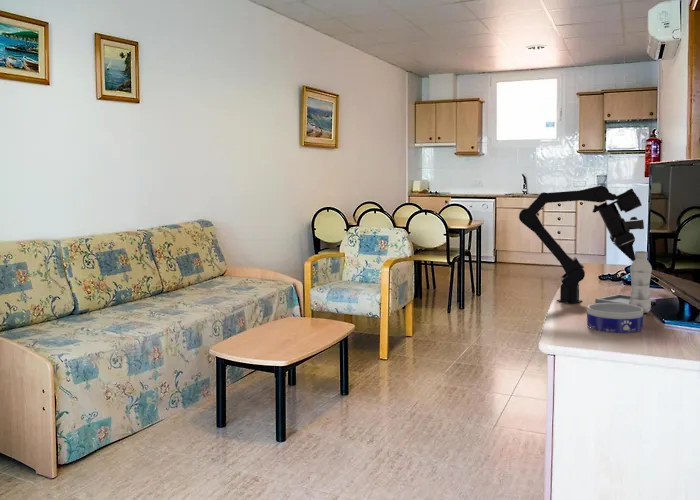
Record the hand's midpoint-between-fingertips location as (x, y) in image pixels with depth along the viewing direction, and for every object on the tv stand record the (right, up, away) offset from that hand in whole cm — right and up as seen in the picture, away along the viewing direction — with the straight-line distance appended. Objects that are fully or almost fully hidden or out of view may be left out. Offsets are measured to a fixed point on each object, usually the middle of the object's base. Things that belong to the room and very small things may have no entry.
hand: (632, 259), depth 211 cm
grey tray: (-1, -15, +3) cm, 16 cm away
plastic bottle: (-4, -17, -13) cm, 22 cm away
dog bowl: (-20, -20, -31) cm, 41 cm away
